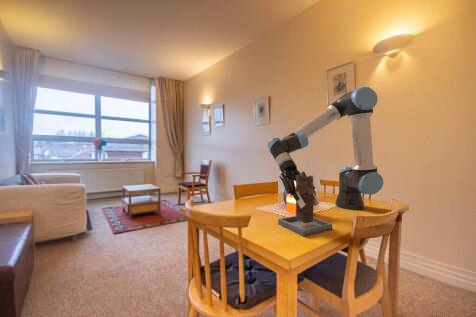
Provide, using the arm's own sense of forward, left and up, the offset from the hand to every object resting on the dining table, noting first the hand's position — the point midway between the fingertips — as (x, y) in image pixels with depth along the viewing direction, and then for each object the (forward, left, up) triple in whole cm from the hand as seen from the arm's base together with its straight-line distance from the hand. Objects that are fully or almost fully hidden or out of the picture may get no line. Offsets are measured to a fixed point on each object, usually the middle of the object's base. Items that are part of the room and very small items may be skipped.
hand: (310, 205), depth 94 cm
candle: (0, -3, -8) cm, 8 cm away
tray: (0, -3, -10) cm, 11 cm away
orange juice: (-12, -21, -11) cm, 27 cm away
